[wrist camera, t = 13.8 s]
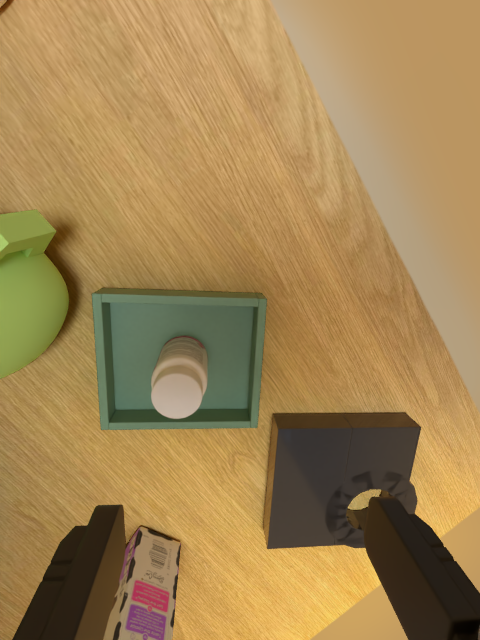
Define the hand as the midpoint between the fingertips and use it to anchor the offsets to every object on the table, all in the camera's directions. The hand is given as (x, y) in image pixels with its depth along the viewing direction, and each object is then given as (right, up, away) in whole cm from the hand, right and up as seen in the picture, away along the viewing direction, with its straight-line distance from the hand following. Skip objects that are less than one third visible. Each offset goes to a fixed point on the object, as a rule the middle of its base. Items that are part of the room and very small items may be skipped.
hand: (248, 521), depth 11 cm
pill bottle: (-6, +3, +23) cm, 24 cm away
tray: (-6, +3, +23) cm, 25 cm away
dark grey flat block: (+11, -12, +29) cm, 34 cm away
